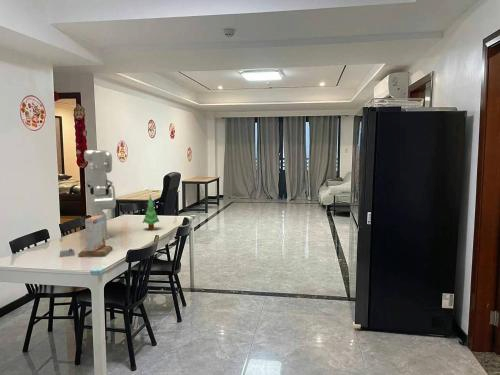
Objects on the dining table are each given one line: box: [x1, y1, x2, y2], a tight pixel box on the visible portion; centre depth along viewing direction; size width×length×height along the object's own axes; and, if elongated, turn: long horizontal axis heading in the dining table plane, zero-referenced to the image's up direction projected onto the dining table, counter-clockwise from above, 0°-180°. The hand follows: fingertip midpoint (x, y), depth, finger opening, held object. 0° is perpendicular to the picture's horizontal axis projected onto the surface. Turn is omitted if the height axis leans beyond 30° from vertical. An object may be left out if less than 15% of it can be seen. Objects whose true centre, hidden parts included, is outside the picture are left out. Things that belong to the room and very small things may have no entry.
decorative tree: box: [142, 194, 160, 231], centre depth 302 cm, size 14×16×30 cm
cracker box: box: [84, 215, 107, 251], centre depth 230 cm, size 14×6×21 cm, turn 176°
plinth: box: [77, 245, 113, 258], centre depth 231 cm, size 16×16×3 cm
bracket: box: [59, 248, 75, 258], centre depth 226 cm, size 5×8×4 cm, turn 114°
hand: (99, 194), depth 241 cm, fingers open, 9 cm apart
